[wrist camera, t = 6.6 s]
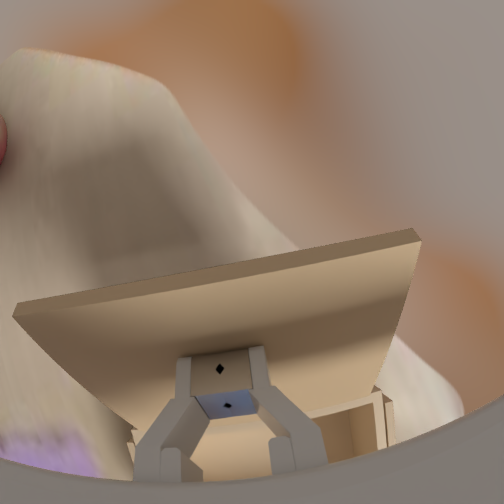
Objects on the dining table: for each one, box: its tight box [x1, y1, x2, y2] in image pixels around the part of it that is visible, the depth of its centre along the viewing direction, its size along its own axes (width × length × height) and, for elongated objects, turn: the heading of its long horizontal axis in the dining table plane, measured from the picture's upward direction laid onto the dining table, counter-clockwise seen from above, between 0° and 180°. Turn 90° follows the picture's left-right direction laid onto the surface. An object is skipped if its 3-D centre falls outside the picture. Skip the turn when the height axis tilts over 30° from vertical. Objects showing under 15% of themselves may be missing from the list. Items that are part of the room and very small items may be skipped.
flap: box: [12, 228, 422, 431], centre depth 12 cm, size 1×13×11 cm
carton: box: [127, 385, 396, 482], centre depth 19 cm, size 16×16×8 cm
